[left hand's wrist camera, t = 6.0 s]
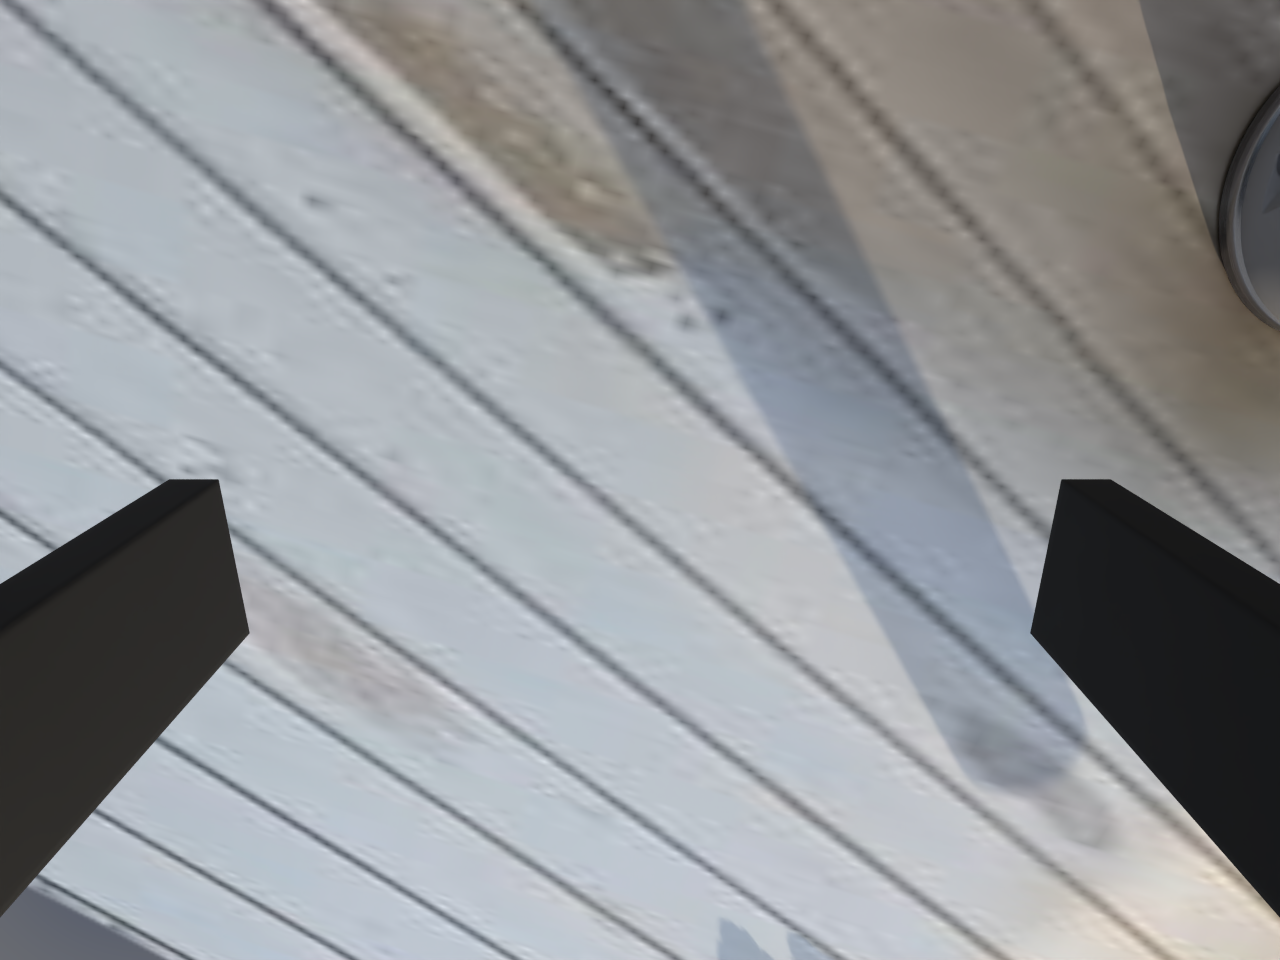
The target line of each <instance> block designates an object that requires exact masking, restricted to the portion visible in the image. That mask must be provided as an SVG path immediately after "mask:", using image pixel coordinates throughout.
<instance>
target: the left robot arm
mask: <svg viewBox="0 0 1280 960" xmlns="http://www.w3.org/2000/svg"><path fill="white" fill-rule="evenodd" d="M1219 242H1220V249H1221V256H1222V260H1223V264H1224V268H1225V270H1226V273H1227V276H1228V278H1229V281H1230V283H1231V285H1232V286H1233V288H1234V290H1235V292H1236V294H1237V295H1238V297H1239V298H1240V299H1241V301H1242V302H1243V303H1244V305H1245V306H1246V307H1247V308H1248V309H1249V310H1250V311H1251V312H1252V313H1253V314H1254V315H1255V316H1256V317H1258V318H1259V319H1260V320H1261V321H1263V322H1264V323H1266V324H1267V325H1269V326H1270V327H1272V328H1274V329H1276V330H1278V331H1280V86H1279V87H1278V88H1277V89H1276V90H1275V91H1274V93H1273V94H1272V95H1271V96H1270V97H1269V99H1268V100H1267V101H1266V103H1265V104H1264V105H1263V107H1262V108H1261V109H1260V111H1259V112H1258V113H1257V115H1256V117H1255V118H1254V120H1253V121H1252V123H1251V124H1250V126H1249V127H1248V129H1247V131H1246V133H1245V135H1244V137H1243V139H1242V140H1241V142H1240V144H1239V146H1238V149H1237V151H1236V153H1235V156H1234V158H1233V160H1232V163H1231V166H1230V169H1229V171H1228V174H1227V177H1226V181H1225V185H1224V189H1223V193H1222V199H1221V205H1220V214H1219ZM248 634H249V628H248V623H247V618H246V613H245V608H244V603H243V598H242V593H241V588H240V583H239V578H238V573H237V569H236V564H235V559H234V554H233V549H232V544H231V539H230V534H229V529H228V524H227V519H226V514H225V509H224V504H223V499H222V494H221V489H220V484H219V480H218V479H169V480H168V481H166V482H164V483H163V484H161V485H160V486H158V487H156V488H155V489H153V490H151V491H150V492H148V493H147V494H145V495H143V496H142V497H140V498H139V499H137V500H135V501H134V502H132V503H130V504H129V505H127V506H126V507H124V508H122V509H121V510H119V511H118V512H116V513H114V514H113V515H111V516H109V517H108V518H106V519H105V520H103V521H101V522H100V523H98V524H97V525H95V526H93V527H92V528H90V529H88V530H87V531H85V532H84V533H82V534H80V535H79V536H77V537H76V538H74V539H72V540H71V541H69V542H67V543H66V544H64V545H63V546H61V547H59V548H58V549H56V550H55V551H53V552H51V553H50V554H48V555H46V556H45V557H43V558H42V559H40V560H38V561H37V562H35V563H34V564H32V565H30V566H29V567H27V568H25V569H24V570H22V571H21V572H19V573H17V574H16V575H14V576H13V577H11V578H9V579H8V580H6V581H4V582H3V583H1V584H0V917H1V916H2V915H3V914H4V912H5V911H6V910H7V909H8V908H9V907H10V906H11V904H12V903H13V902H14V901H15V900H16V899H17V898H18V896H19V895H20V894H21V893H22V892H23V891H24V890H25V889H26V887H27V886H28V885H29V884H30V883H31V882H32V881H33V879H34V878H35V877H36V876H37V875H38V874H39V873H40V871H41V870H42V869H43V868H44V867H45V866H46V865H47V863H48V862H49V861H50V860H51V859H52V858H53V857H54V855H55V854H56V853H57V852H58V851H59V850H60V849H61V847H62V846H63V845H64V844H65V843H66V842H67V841H68V840H69V838H70V837H71V836H72V835H73V834H74V833H75V832H76V830H77V829H78V828H79V827H80V826H81V825H82V824H83V822H84V821H85V820H86V819H87V818H88V817H89V816H90V814H91V813H92V812H93V811H94V810H95V809H96V808H97V806H98V805H99V804H100V803H101V802H102V801H103V800H104V798H105V797H106V796H107V795H108V794H109V793H110V792H111V790H112V789H113V788H114V787H115V786H116V785H117V784H118V783H119V781H120V780H121V779H122V778H123V777H124V776H125V775H126V773H127V772H128V771H129V770H130V769H131V768H132V767H133V765H134V764H135V763H136V762H137V761H138V760H139V759H140V757H141V756H142V755H143V754H144V753H145V752H146V751H147V749H148V748H149V747H150V746H151V745H152V744H153V743H154V741H155V740H156V739H157V738H158V737H159V736H160V735H161V734H162V732H163V731H164V730H165V729H166V728H167V727H168V726H169V724H170V723H171V722H172V721H173V720H174V719H175V718H176V716H177V715H178V714H179V713H180V712H181V711H182V710H183V708H184V707H185V706H186V705H187V704H188V703H189V702H190V700H191V699H192V698H193V697H194V696H195V695H196V694H197V692H198V691H199V690H200V689H201V688H202V687H203V686H204V684H205V683H206V682H207V681H208V680H209V679H210V678H211V677H212V675H213V674H214V673H215V672H216V671H217V670H218V669H219V667H220V666H221V665H222V664H223V663H224V662H225V661H226V659H227V658H228V657H229V656H230V655H231V654H232V653H233V651H234V650H235V649H236V648H237V647H238V646H239V645H240V643H241V642H242V641H243V640H244V639H245V638H246V637H247V635H248ZM1031 634H1032V635H1033V637H1034V638H1035V639H1036V640H1037V641H1038V642H1039V643H1040V645H1041V646H1042V647H1043V648H1044V649H1045V650H1046V651H1047V653H1048V654H1049V655H1050V656H1051V657H1052V658H1053V659H1054V661H1055V662H1056V663H1057V664H1058V665H1059V666H1060V667H1061V669H1062V670H1063V671H1064V672H1065V673H1066V674H1067V675H1068V677H1069V678H1070V679H1071V680H1072V681H1073V682H1074V683H1075V685H1076V686H1077V687H1078V688H1079V689H1080V690H1081V691H1082V692H1083V694H1084V695H1085V696H1086V697H1087V698H1088V699H1089V700H1090V702H1091V703H1092V704H1093V705H1094V706H1095V707H1096V708H1097V710H1098V711H1099V712H1100V713H1101V714H1102V715H1103V716H1104V718H1105V719H1106V720H1107V721H1108V722H1109V723H1110V724H1111V726H1112V727H1113V728H1114V729H1115V730H1116V731H1117V732H1118V734H1119V735H1120V736H1121V737H1122V738H1123V739H1124V740H1125V741H1126V743H1127V744H1128V745H1129V746H1130V747H1131V748H1132V749H1133V751H1134V752H1135V753H1136V754H1137V755H1138V756H1139V757H1140V759H1141V760H1142V761H1143V762H1144V763H1145V764H1146V765H1147V767H1148V768H1149V769H1150V770H1151V771H1152V772H1153V773H1154V775H1155V776H1156V777H1157V778H1158V779H1159V780H1160V781H1161V783H1162V784H1163V785H1164V786H1165V787H1166V788H1167V789H1168V790H1169V792H1170V793H1171V794H1172V795H1173V796H1174V797H1175V798H1176V800H1177V801H1178V802H1179V803H1180V804H1181V805H1182V806H1183V808H1184V809H1185V810H1186V811H1187V812H1188V813H1189V814H1190V816H1191V817H1192V818H1193V819H1194V820H1195V821H1196V822H1197V824H1198V825H1199V826H1200V827H1201V828H1202V829H1203V830H1204V832H1205V833H1206V834H1207V835H1208V836H1209V837H1210V838H1211V840H1212V841H1213V842H1214V843H1215V844H1216V845H1217V846H1218V847H1219V849H1220V850H1221V851H1222V852H1223V853H1224V854H1225V855H1226V857H1227V858H1228V859H1229V860H1230V861H1231V862H1232V863H1233V865H1234V866H1235V867H1236V868H1237V869H1238V870H1239V871H1240V873H1241V874H1242V875H1243V876H1244V877H1245V878H1246V879H1247V881H1248V882H1249V883H1250V884H1251V885H1252V886H1253V887H1254V889H1255V890H1256V891H1257V892H1258V893H1259V894H1260V895H1261V896H1262V898H1263V899H1264V900H1265V901H1266V902H1267V903H1268V904H1269V906H1270V907H1271V908H1272V909H1273V910H1274V911H1275V912H1276V914H1277V915H1278V916H1279V917H1280V584H1279V583H1277V582H1276V581H1274V580H1272V579H1271V578H1269V577H1267V576H1266V575H1264V574H1263V573H1261V572H1259V571H1258V570H1256V569H1255V568H1253V567H1251V566H1250V565H1248V564H1246V563H1245V562H1243V561H1242V560H1240V559H1238V558H1237V557H1235V556H1234V555H1232V554H1230V553H1229V552H1227V551H1225V550H1224V549H1222V548H1221V547H1219V546H1217V545H1216V544H1214V543H1213V542H1211V541H1209V540H1208V539H1206V538H1204V537H1203V536H1201V535H1200V534H1198V533H1196V532H1195V531H1193V530H1192V529H1190V528H1188V527H1187V526H1185V525H1183V524H1182V523H1180V522H1179V521H1177V520H1175V519H1174V518H1172V517H1171V516H1169V515H1167V514H1166V513H1164V512H1162V511H1161V510H1159V509H1158V508H1156V507H1154V506H1153V505H1151V504H1150V503H1148V502H1146V501H1145V500H1143V499H1141V498H1140V497H1138V496H1137V495H1135V494H1133V493H1132V492H1130V491H1129V490H1127V489H1125V488H1124V487H1122V486H1120V485H1119V484H1117V483H1116V482H1114V481H1112V480H1111V479H1062V480H1061V484H1060V489H1059V494H1058V499H1057V504H1056V509H1055V514H1054V519H1053V524H1052V529H1051V534H1050V539H1049V544H1048V549H1047V554H1046V559H1045V564H1044V569H1043V573H1042V578H1041V583H1040V588H1039V593H1038V598H1037V603H1036V608H1035V613H1034V618H1033V623H1032V628H1031Z"/></svg>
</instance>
